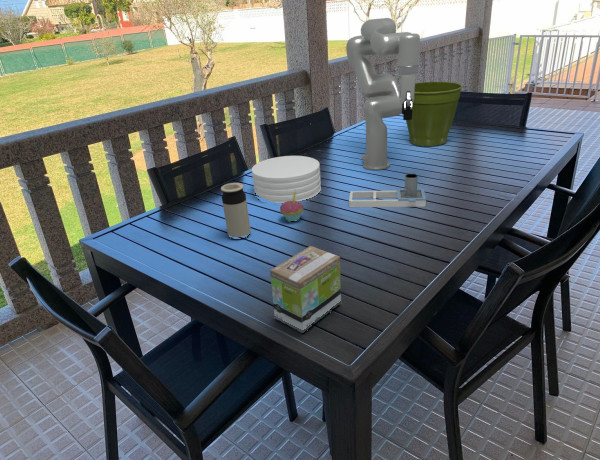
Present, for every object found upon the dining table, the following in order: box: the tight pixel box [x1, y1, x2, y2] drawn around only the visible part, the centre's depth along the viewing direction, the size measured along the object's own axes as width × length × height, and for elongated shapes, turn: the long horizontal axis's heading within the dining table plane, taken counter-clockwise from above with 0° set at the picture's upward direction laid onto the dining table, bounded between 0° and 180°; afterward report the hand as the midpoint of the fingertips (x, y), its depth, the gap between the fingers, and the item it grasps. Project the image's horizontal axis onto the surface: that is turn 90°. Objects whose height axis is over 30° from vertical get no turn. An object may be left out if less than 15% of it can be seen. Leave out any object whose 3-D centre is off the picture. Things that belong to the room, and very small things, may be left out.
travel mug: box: [220, 182, 252, 237], centre depth 150 cm, size 8×8×18 cm
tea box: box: [269, 245, 342, 330], centre depth 108 cm, size 15×10×15 cm, turn 138°
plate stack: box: [251, 155, 322, 203], centre depth 185 cm, size 28×28×12 cm
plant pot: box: [405, 81, 463, 147], centre depth 229 cm, size 30×30×29 cm
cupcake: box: [279, 191, 304, 222], centre depth 159 cm, size 9×8×12 cm
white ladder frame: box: [348, 188, 427, 208], centre depth 169 cm, size 13×28×3 cm, turn 81°
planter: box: [404, 173, 419, 198], centre depth 166 cm, size 4×4×10 cm
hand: (406, 116), depth 171 cm, fingers open, 9 cm apart
